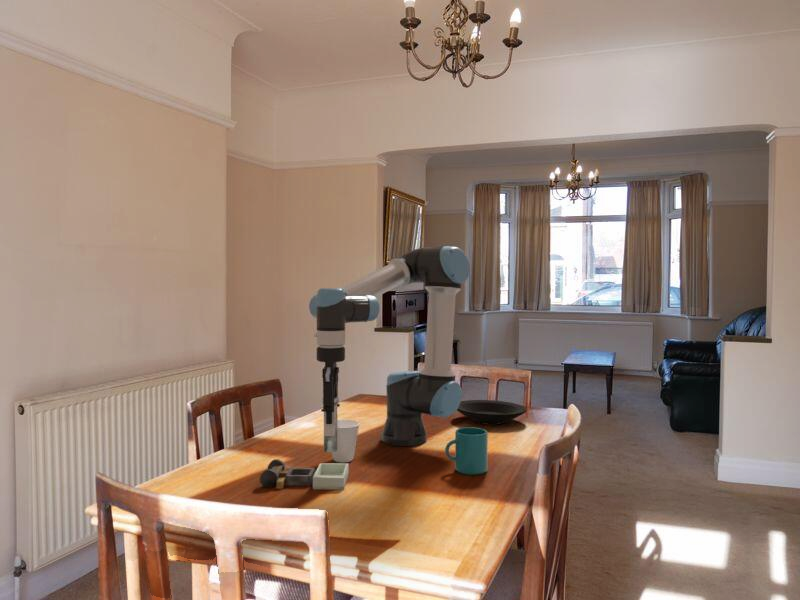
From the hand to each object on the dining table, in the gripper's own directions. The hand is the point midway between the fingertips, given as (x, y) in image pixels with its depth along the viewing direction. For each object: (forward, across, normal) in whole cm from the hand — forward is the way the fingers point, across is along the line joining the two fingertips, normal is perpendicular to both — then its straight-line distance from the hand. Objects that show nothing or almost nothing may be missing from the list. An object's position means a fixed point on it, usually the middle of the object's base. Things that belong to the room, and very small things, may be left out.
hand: (330, 433), depth 160 cm
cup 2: (+13, -10, +37) cm, 41 cm away
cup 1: (+13, -19, +1) cm, 23 cm away
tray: (+13, 0, 0) cm, 13 cm away
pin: (+5, 0, 0) cm, 5 cm away
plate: (+13, -68, +51) cm, 86 cm away
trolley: (+13, 0, -11) cm, 17 cm away
